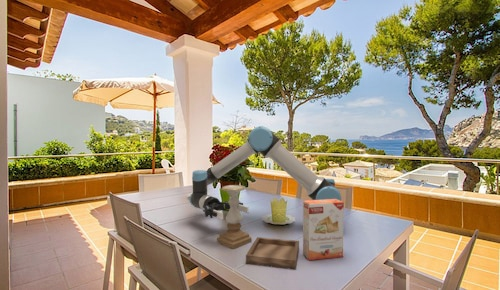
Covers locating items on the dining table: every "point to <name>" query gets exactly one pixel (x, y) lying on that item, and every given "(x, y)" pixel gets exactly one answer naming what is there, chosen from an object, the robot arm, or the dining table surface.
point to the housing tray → (273, 253)
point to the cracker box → (323, 228)
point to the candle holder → (233, 221)
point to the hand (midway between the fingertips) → (235, 213)
